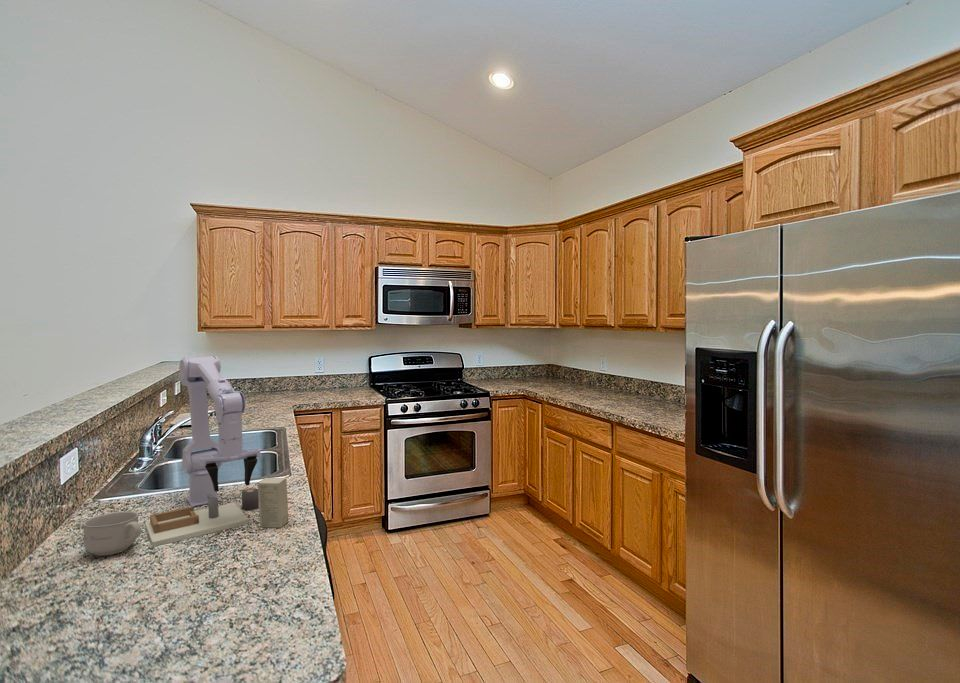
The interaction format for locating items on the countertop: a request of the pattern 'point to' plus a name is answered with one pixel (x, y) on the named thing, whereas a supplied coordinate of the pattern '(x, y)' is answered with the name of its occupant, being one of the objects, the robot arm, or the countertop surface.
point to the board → (193, 522)
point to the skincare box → (273, 502)
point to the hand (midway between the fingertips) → (231, 487)
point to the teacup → (111, 532)
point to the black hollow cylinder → (250, 499)
